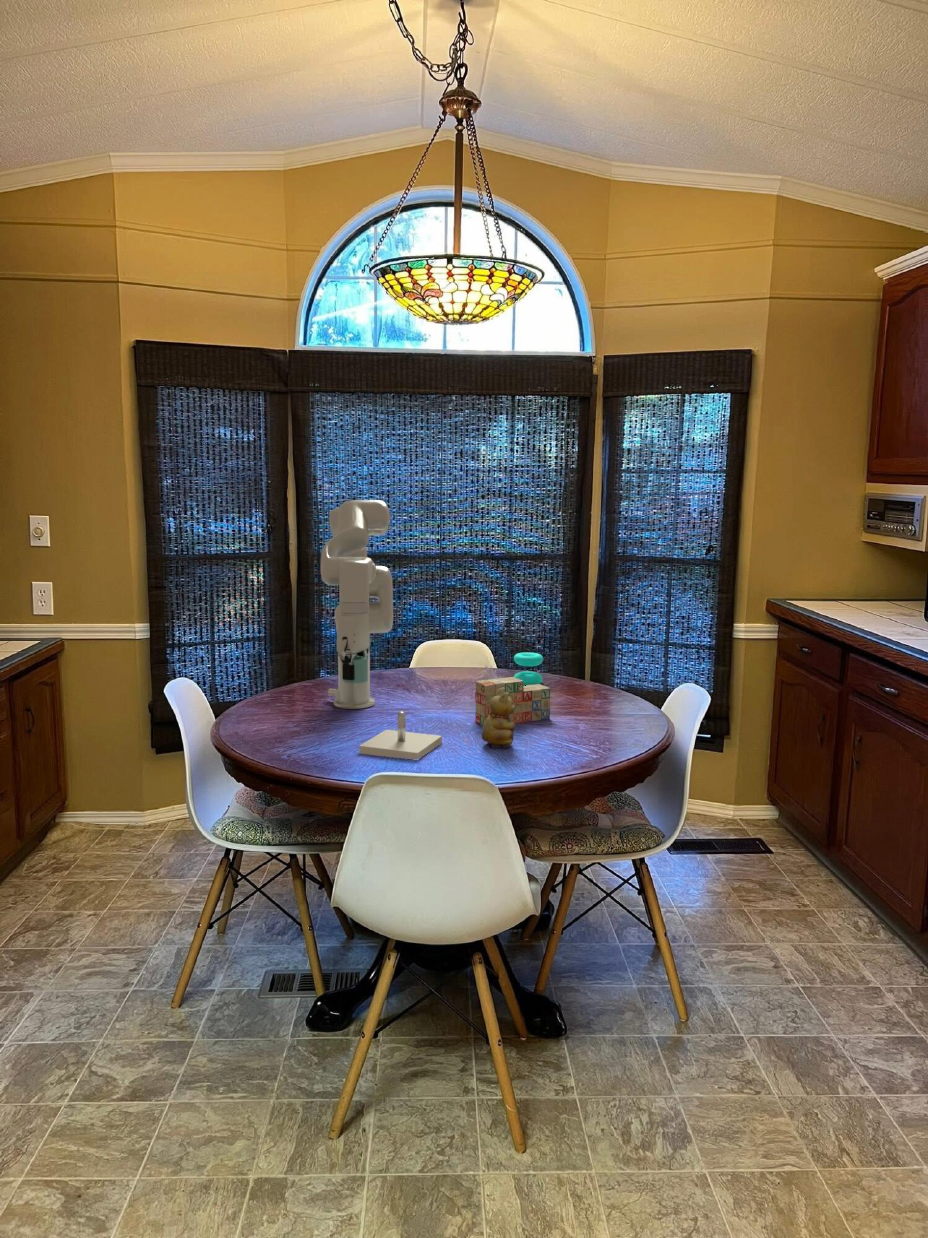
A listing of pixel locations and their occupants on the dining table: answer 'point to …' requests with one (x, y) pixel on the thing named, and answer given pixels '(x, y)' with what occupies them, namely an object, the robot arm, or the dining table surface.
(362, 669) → the bead
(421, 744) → the board
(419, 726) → the dining table surface
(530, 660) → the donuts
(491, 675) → the water lily
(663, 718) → the dining table surface
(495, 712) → the decorative figurine
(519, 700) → the stack of blocks
